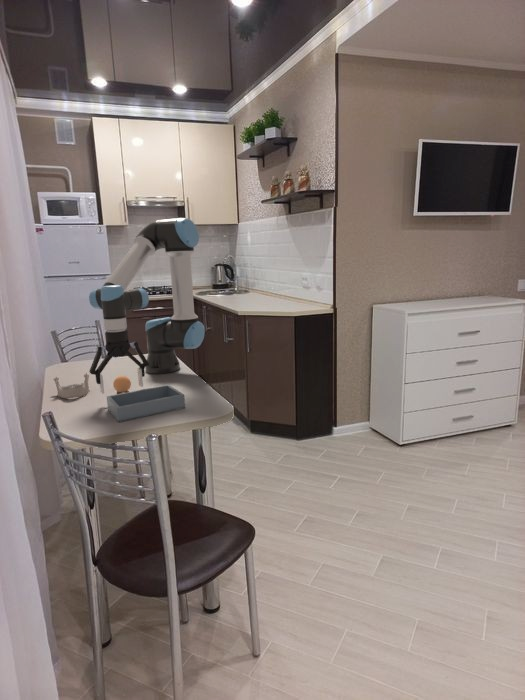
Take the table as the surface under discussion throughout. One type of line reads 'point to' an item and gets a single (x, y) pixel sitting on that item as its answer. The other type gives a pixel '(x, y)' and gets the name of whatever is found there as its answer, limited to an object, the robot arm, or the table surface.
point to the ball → (122, 384)
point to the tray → (145, 402)
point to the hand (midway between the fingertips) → (122, 389)
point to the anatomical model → (73, 389)
